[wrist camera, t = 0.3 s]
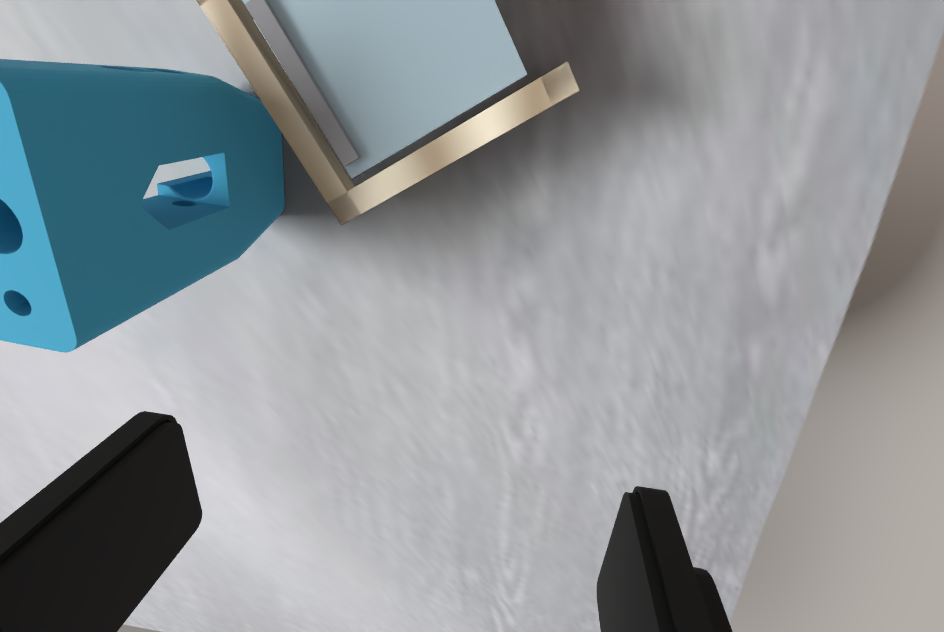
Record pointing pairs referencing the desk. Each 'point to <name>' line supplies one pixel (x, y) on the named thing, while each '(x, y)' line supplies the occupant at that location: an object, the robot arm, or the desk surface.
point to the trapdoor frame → (315, 151)
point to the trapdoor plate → (388, 66)
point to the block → (122, 192)
